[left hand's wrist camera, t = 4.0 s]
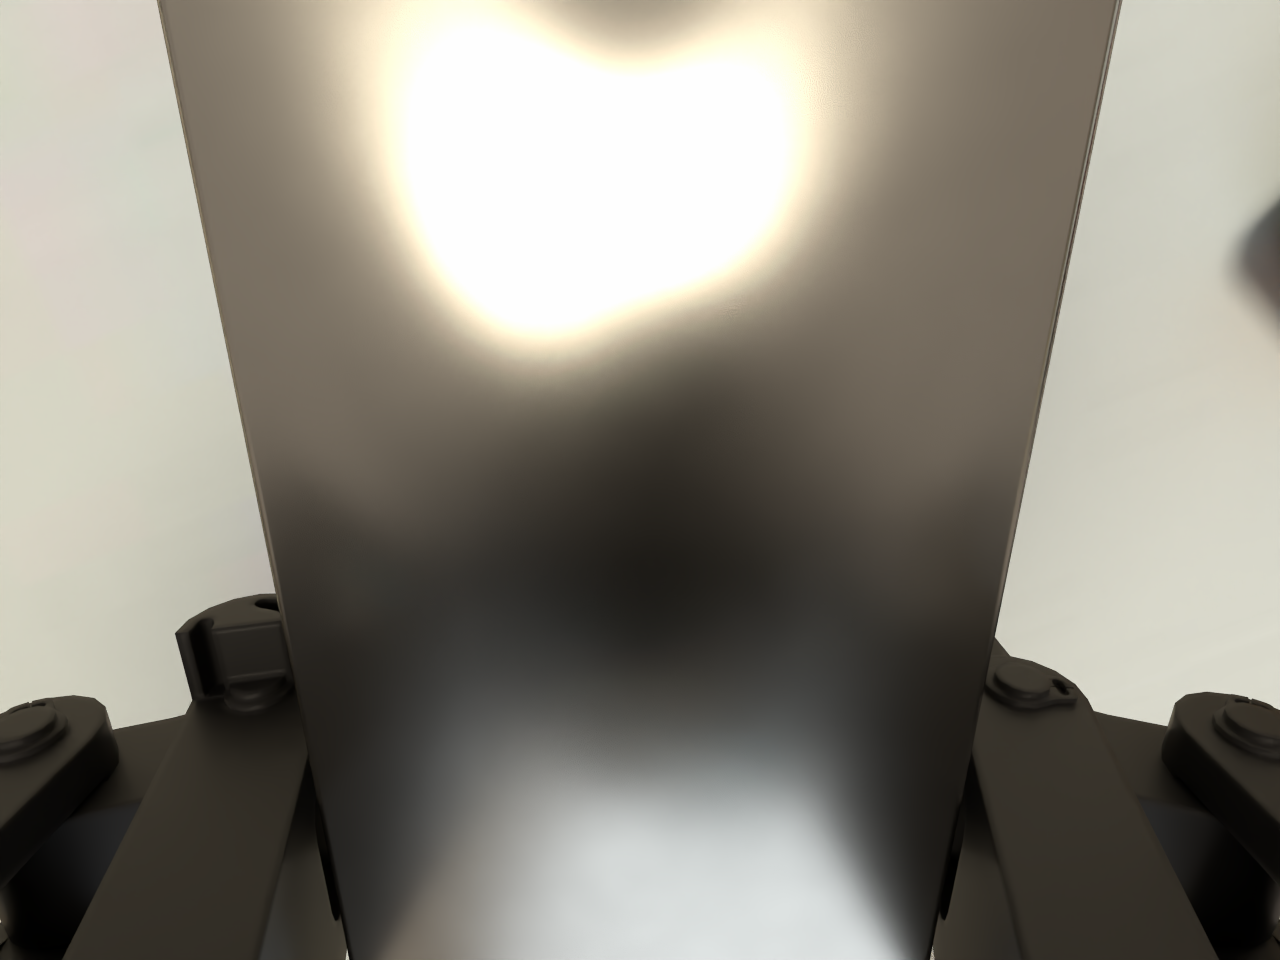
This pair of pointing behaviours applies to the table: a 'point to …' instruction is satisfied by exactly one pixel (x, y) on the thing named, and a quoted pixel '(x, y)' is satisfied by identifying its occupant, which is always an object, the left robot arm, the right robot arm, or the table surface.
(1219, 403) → the table surface
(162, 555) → the table surface
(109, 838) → the left robot arm
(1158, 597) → the table surface
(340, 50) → the bar
